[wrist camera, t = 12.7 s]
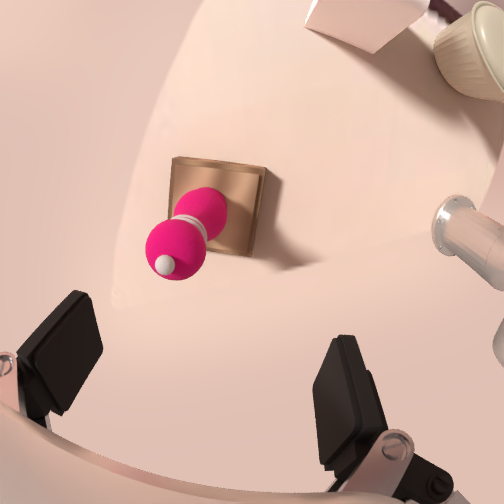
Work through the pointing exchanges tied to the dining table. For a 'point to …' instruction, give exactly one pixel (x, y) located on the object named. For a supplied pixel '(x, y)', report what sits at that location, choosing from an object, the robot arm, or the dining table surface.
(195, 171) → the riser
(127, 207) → the dining table surface
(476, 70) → the canister
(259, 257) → the dining table surface
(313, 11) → the milk
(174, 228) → the pepper mill
